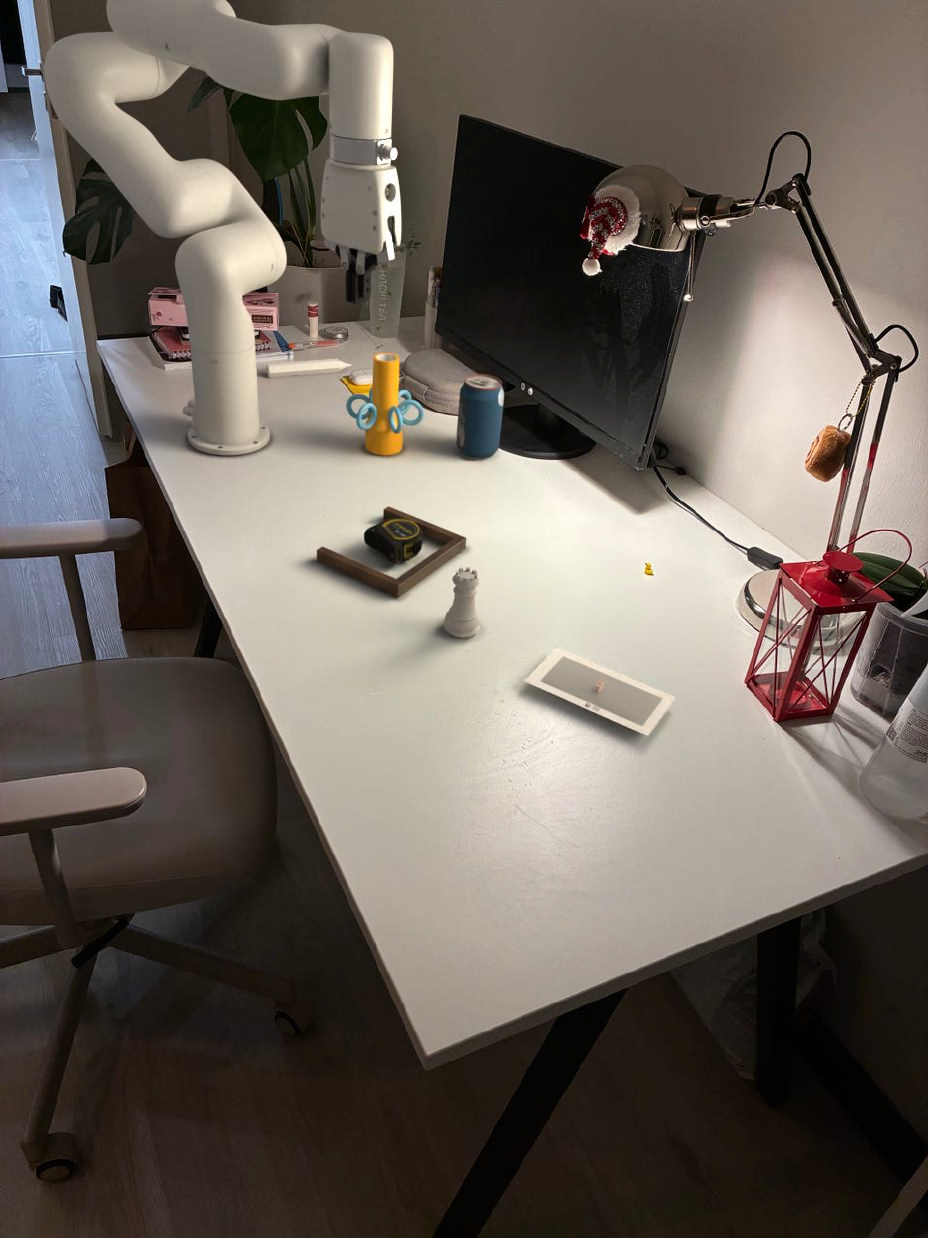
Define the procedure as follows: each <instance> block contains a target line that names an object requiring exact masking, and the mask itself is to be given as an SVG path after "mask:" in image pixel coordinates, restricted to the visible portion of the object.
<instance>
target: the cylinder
mask: <svg viewBox="0 0 928 1238" xmlns="http://www.w3.org/2000/svg"><path fill="white" fill-rule="evenodd" d="M400 362H401V361H400V356H399V355H398V354H395V353H392V352H377V353H375V354H373V356H372V385H371V387H370V389H369V392H368V396H367V395H365V394H362V393H355V394H352V395H350V397H348V399H347V400H346V404H345V407H346V411H347V413H348V415H349V416H350V417H351V418H353V419H355V421H356V426H357V428H358V429H360V430H362V431H364V437H365V438H364V447H365V449H366V451H368V452H369V453H371V454H374V455H378V456H393V455H396V454H399V453H400V452H401V451H402V449H403V443H404V425H406V426H410V427H411V426H416V425H418V424H420V423H421V422H422V420H423V418H424V413H425V412H424V409H423V406H422V405H421V404H420V403H419V402H418V401H417V400H415V399H412V395H411V392H410V391H408V390H407V389H401V390H400V389H399V388H400V387H399V386H400V385H399V383H400ZM402 396H405V398H406V399H404V400H402V401H401V402H399V399H400V398H401V397H402ZM356 400H362V401H364V402H365V403H363V404H362V405H361V406H360V407H359V409H358V411H357V413H356V412H355V411H354V410H353V408H352V403H353V402H354V401H356ZM411 406H414V407H415V408H416V409H417V411H418V415H417V417H416V418H415V419H413V420H410V419H406V418H405V417H404V415H406V414H407V412H408V411H409V409H410V407H411ZM366 410H367V411H366ZM365 411H366V412H365ZM364 412H365V413H364ZM364 420H366V421H365V424H364V423H362V421H364Z"/></svg>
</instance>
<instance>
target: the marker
mask: <svg viewBox="0 0 928 1238" xmlns="http://www.w3.org/2000/svg"><path fill="white" fill-rule="evenodd" d="M351 366H353V364H351V363H348V362H344V361H343V360H340V359H339V358H328V359H327V358H326V359H313V360H312V359H311V360H299V361H286V362H285V361H284V362H271V363H266V368H265V369H266V373H267V375H266V376H267V377H268V378H281V377H292V376H304V375H317V374H319V375H320V374H329V373H330V374H332V373H340V371H342V370H344V369H346V368H349V367H351Z"/></svg>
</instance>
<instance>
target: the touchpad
mask: <svg viewBox="0 0 928 1238" xmlns="http://www.w3.org/2000/svg"><path fill="white" fill-rule="evenodd" d="M523 682H525V683H527V684H529V685H531V686H534V687H536V688H539V689H541V690H543V691H544V692H547V693H549V694H551V695H553V696H556V697H559V698H561V699H563V700H566V701H568V702H570V703H571V704H574V705H576V706H579V707H581V708H583V709H586V710H588V711H590V712H593V714H597V715H599V716H600V717H604V718H606V719H609V720H610V721H612V722H615V723H617V724H619V725H622V726H623V727H626V728H629V730H633V731H635V732H637V733H639V734H642V735H644V736H646V737H649V735H650V734H651V733H652V732H653V731H654V729H655V728H656V726H657V724H658V723H659V722H660V721H661V719H662V718H663V717H664V715H665V713H667V711H668V709H669V708H670V707H671V705H672V704H673V703H674V701H675V700H676V698H677V697H676V696H673V695H671V694H668V693H666V692H664V691H662V690H659V689H657V688H654V687H652V686H649V685H647V684H645V683H642V682H641V681H638V680H636V679H633V678H631V677H629V676H626V675H623V674H622V673H619V672H616V671H614V670H612V669H610V668H607V667H604V666H602V665H600V664H598V663H595V662H593V661H591V660H588V659H586V658H583V657H581V656H579V655H577V654H574V653H572V652H569V651H567V650H564V649H562V648H560V647H558V646H556V647H555V648H554V649H553V650H552V651H551V652H550V653H549V654H548V655H547V656H546V657H545V658H544V659H543V661H541V662H540V663H539V665H538V666H536V668H535V669H534V670H532V671H531V673H530V674H529V675H528V676H527V677H526V678H525V679H524V680H523Z"/></svg>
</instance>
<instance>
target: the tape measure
mask: <svg viewBox="0 0 928 1238" xmlns="http://www.w3.org/2000/svg"><path fill="white" fill-rule="evenodd" d="M363 541H364V543H365V544H366V545H367V546H368V547H369V548H370V549H372V550H374V551H375V552H377V553H378V554H379V555H381V556H383V558H385V559H386V560H387V561H388V562H390V563H391V564H393V565H398V564H400V563H402V562H403V561H407V560H410V559H411V560H412V559H413V558H415V557H416V556H418V555H419V553H420V552H421V550H422V548H423V544H424V537H423V532H422V530H421V528H420V527H419V526H418V525H417V524H416V523H415V522H413V521H410V520H407V519H404V518H390V519H385V520H383V519H382V520H381V521H379V522H378V523H376V524H374V525H371V526H370V527H368V528H366V530H365V531H364V532H363Z"/></svg>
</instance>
